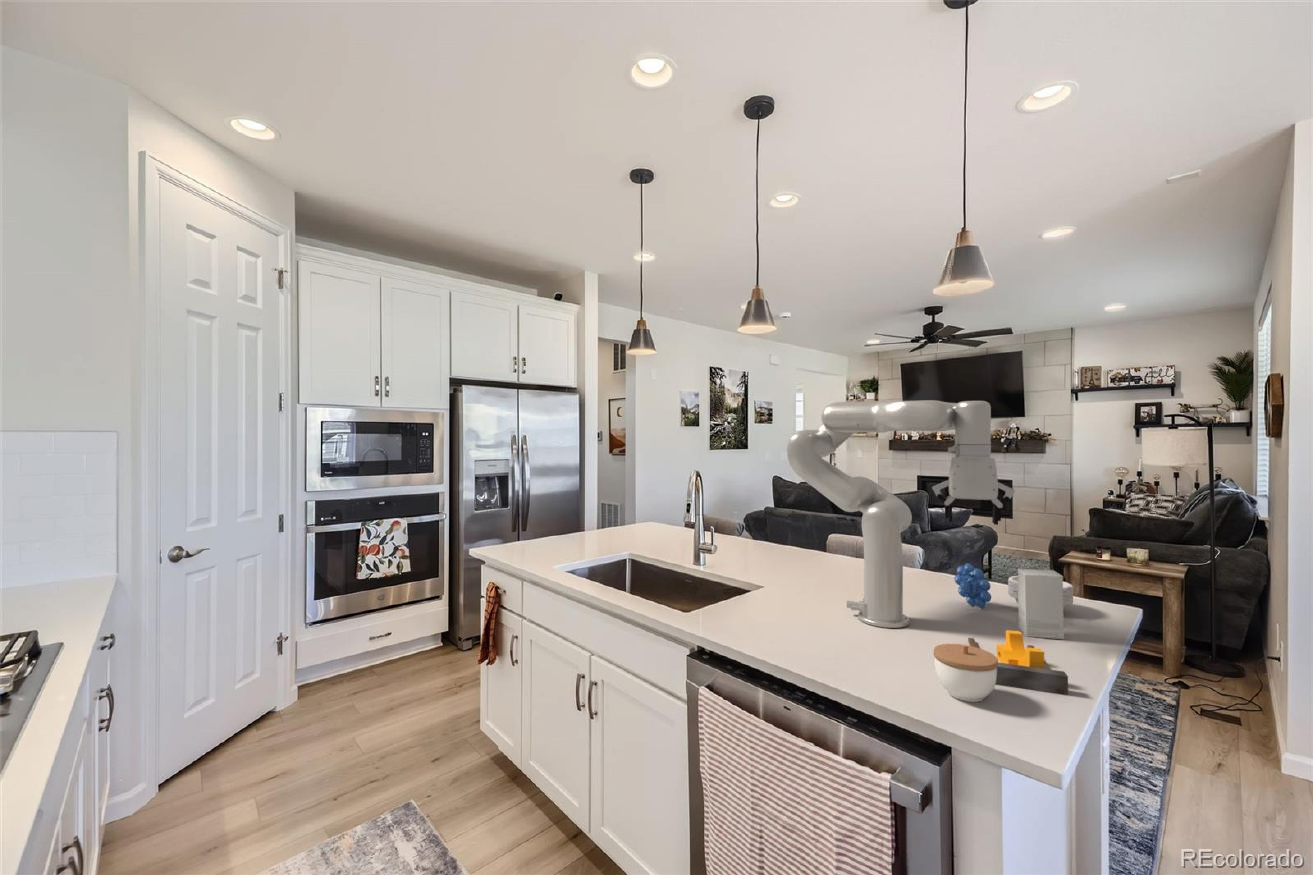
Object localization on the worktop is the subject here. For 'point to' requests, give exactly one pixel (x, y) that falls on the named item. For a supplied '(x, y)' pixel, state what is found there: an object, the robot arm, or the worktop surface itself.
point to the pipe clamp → (1019, 652)
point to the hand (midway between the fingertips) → (972, 522)
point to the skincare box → (1040, 603)
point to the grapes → (973, 585)
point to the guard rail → (1030, 676)
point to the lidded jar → (965, 671)
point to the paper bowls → (1066, 590)
